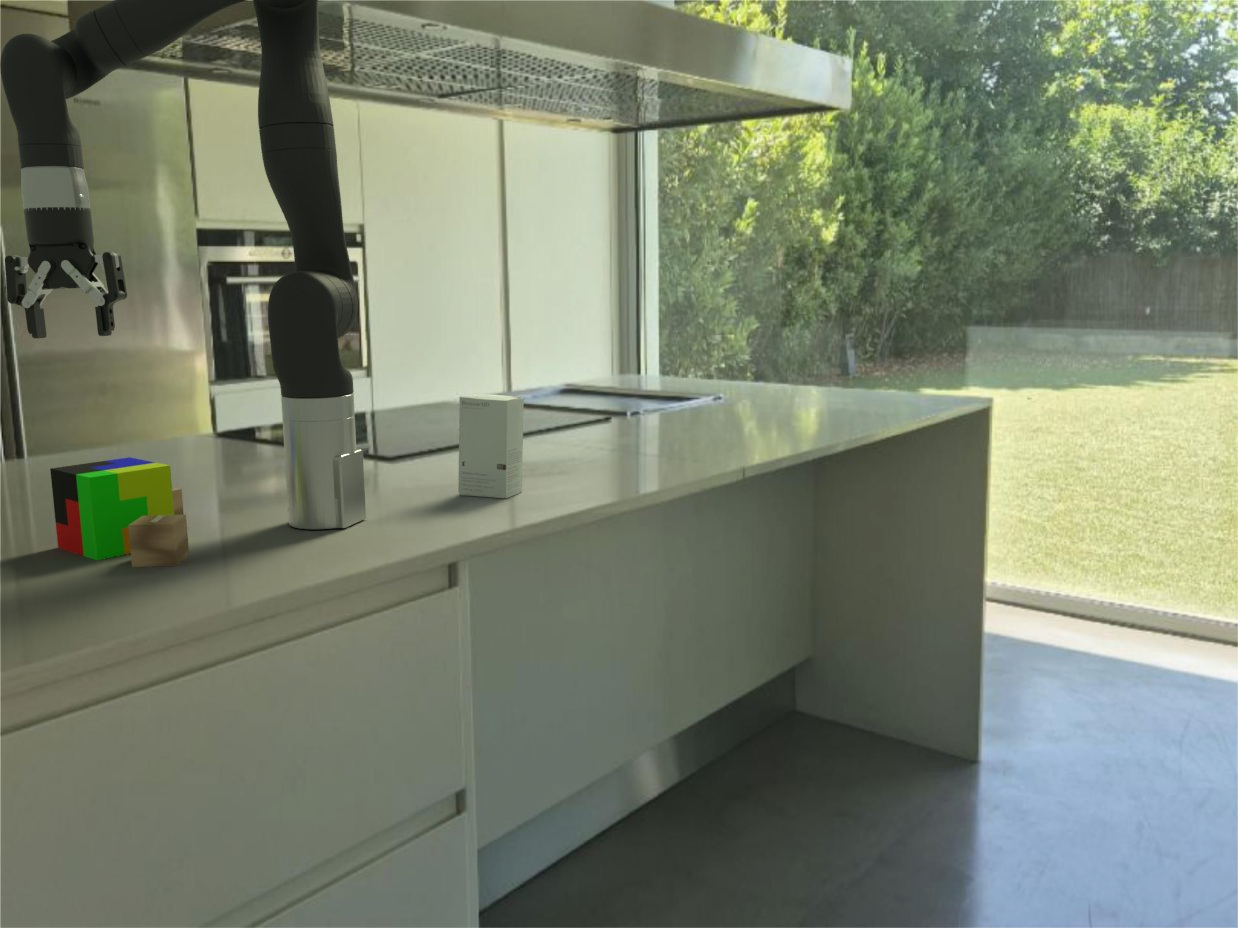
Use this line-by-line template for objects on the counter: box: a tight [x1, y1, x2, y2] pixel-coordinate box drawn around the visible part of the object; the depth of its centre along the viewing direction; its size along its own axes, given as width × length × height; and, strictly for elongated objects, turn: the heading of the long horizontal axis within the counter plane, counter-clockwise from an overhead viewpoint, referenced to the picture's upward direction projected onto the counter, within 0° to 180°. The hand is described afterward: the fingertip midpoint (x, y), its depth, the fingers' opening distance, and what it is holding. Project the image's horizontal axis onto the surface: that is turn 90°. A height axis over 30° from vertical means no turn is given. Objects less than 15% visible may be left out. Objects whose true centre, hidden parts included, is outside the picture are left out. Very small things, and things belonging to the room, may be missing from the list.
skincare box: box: [458, 393, 525, 499], centre depth 167 cm, size 8×6×15 cm
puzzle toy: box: [50, 456, 174, 561], centre depth 139 cm, size 10×10×10 cm
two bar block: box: [172, 487, 185, 515], centre depth 149 cm, size 5×5×5 cm
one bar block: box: [128, 514, 190, 568], centre depth 132 cm, size 5×5×5 cm
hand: (72, 337), depth 143 cm, fingers open, 8 cm apart
